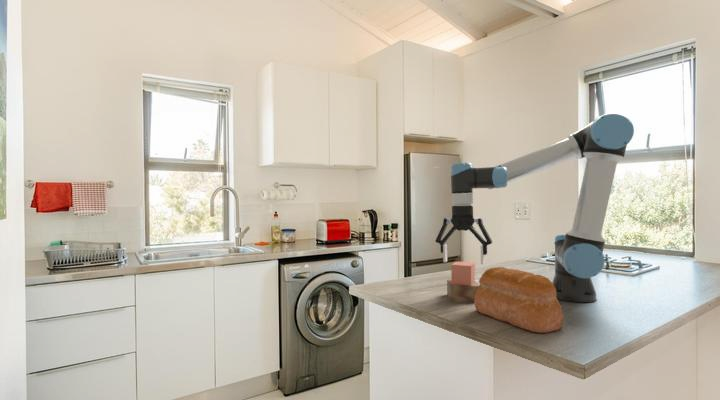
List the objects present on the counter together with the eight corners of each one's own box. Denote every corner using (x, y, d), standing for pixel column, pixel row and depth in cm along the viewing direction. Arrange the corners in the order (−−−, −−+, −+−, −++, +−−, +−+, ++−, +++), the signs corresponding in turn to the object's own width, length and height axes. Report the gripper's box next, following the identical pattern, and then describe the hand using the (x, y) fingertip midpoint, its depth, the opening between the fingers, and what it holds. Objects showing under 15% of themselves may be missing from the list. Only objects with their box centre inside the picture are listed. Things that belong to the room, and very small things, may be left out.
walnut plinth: (473, 295, 149) (473, 279, 149) (479, 303, 139) (479, 286, 139) (447, 295, 150) (447, 279, 150) (450, 302, 140) (450, 285, 140)
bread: (537, 337, 105) (537, 281, 105) (469, 311, 129) (469, 265, 128) (569, 329, 111) (569, 276, 111) (499, 305, 135) (499, 261, 135)
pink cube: (474, 281, 146) (474, 262, 146) (471, 285, 140) (471, 266, 140) (455, 279, 149) (455, 261, 149) (451, 283, 143) (451, 264, 143)
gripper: (499, 204, 141) (500, 262, 142) (432, 205, 153) (433, 259, 153) (496, 205, 135) (497, 266, 135) (426, 205, 146) (427, 262, 146)
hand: (463, 262), depth 144 cm, fingers open, 13 cm apart
